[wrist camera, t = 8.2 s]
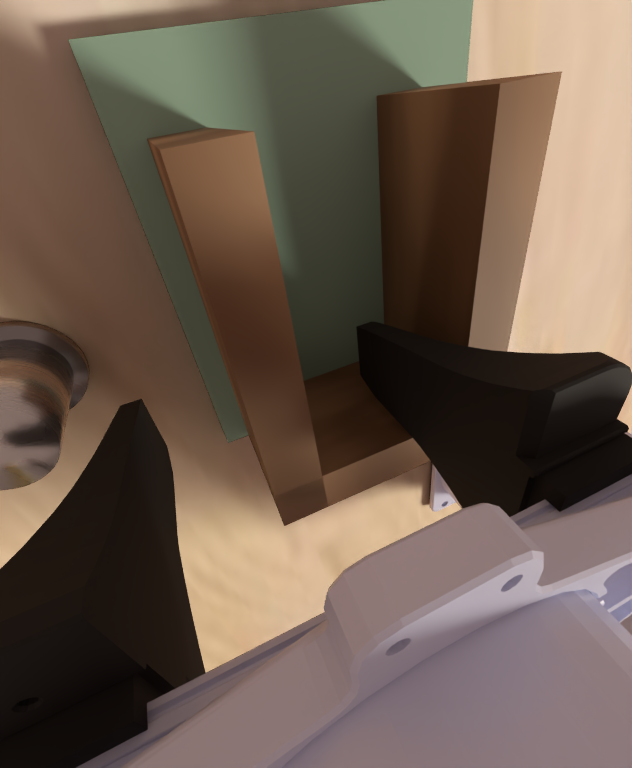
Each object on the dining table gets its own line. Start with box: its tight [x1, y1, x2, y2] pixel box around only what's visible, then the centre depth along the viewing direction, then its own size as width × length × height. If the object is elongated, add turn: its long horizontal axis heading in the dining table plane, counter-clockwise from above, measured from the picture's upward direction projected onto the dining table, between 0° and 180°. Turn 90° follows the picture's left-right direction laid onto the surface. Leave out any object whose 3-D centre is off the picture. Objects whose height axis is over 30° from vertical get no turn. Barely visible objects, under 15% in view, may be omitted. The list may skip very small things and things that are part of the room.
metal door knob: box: [0, 321, 89, 490], centre depth 11 cm, size 3×3×4 cm
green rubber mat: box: [68, 0, 473, 443], centre depth 14 cm, size 11×13×1 cm
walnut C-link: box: [147, 72, 562, 526], centre depth 12 cm, size 8×11×5 cm
